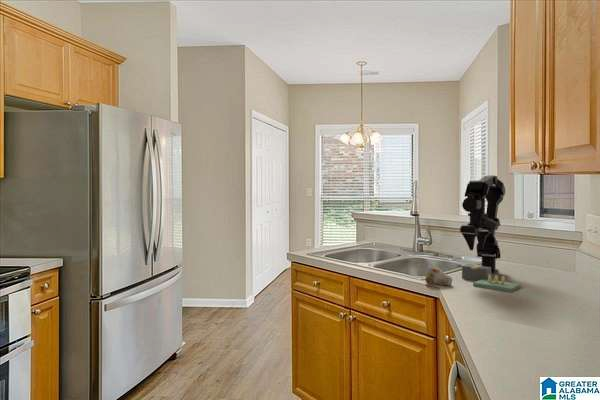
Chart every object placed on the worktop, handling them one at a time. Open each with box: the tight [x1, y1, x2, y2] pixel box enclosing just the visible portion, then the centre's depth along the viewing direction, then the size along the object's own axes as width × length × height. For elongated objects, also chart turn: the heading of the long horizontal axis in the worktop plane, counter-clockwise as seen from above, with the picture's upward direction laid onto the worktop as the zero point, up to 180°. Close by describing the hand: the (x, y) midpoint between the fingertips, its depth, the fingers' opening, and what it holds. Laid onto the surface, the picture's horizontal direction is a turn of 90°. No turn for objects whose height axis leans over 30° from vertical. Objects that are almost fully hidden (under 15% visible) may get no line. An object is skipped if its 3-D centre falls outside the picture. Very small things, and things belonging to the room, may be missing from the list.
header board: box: [472, 274, 521, 293], centre depth 175 cm, size 9×14×4 cm, turn 46°
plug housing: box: [461, 263, 492, 281], centre depth 188 cm, size 5×10×5 cm, turn 46°
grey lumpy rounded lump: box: [424, 265, 453, 287], centre depth 180 cm, size 8×10×10 cm
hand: (476, 249), depth 188 cm, fingers open, 9 cm apart
